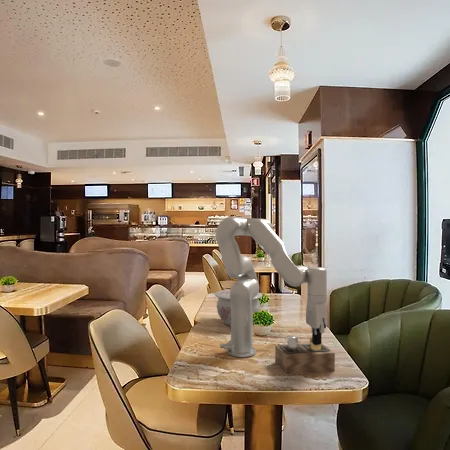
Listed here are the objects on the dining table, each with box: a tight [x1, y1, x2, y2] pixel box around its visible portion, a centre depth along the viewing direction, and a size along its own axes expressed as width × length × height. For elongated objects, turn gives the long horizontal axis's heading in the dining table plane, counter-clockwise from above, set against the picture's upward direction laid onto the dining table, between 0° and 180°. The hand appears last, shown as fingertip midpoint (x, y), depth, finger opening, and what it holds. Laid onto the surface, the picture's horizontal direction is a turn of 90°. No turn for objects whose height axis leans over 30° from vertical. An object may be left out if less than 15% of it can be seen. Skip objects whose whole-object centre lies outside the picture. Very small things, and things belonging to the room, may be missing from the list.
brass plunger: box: [311, 343, 321, 351], centre depth 141 cm, size 4×4×7 cm
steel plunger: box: [286, 334, 299, 352], centre depth 139 cm, size 4×4×7 cm
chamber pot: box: [214, 288, 263, 326], centre depth 200 cm, size 28×28×21 cm
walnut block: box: [274, 342, 336, 375], centre depth 140 cm, size 20×12×7 cm, turn 101°
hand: (316, 343), depth 141 cm, fingers closed
